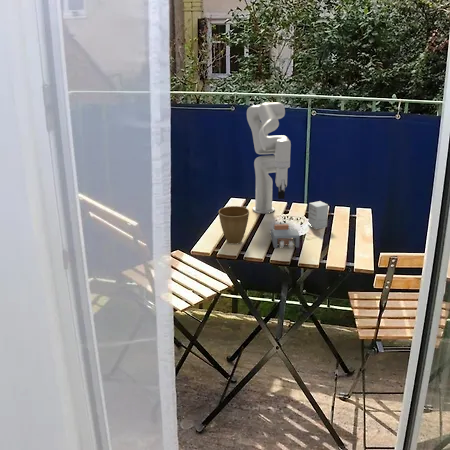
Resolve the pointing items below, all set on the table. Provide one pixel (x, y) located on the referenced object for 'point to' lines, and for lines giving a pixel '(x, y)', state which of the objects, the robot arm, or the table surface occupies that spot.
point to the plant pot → (234, 223)
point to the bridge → (285, 234)
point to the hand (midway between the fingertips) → (281, 198)
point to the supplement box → (318, 214)
